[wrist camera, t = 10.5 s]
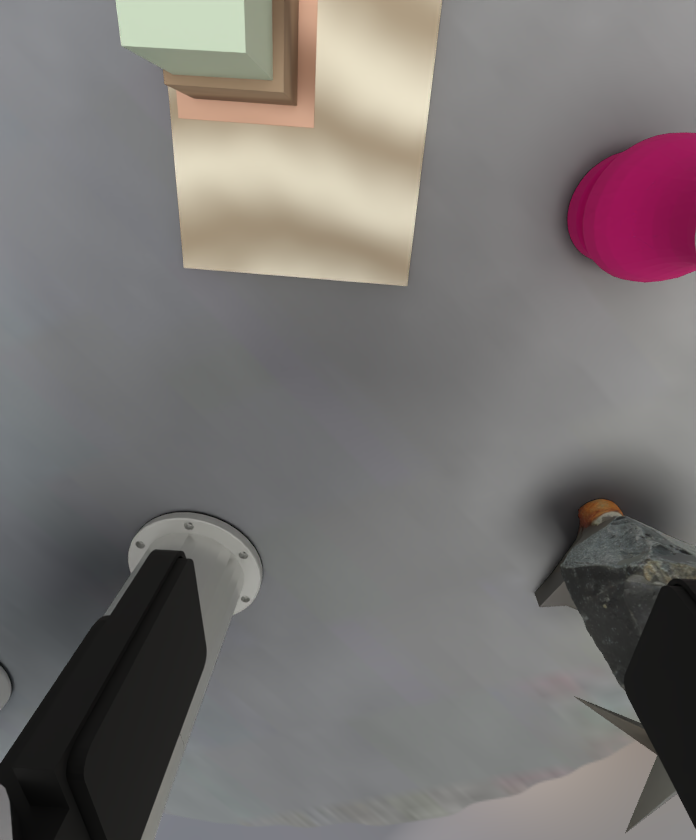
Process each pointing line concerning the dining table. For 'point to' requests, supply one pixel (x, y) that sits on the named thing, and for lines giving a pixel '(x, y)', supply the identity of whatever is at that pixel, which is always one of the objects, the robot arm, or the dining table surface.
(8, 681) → the cylinder vase
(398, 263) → the cream wavy board
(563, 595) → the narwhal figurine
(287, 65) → the walnut base block
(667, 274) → the pepper mill
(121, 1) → the sage block
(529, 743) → the dining table surface
